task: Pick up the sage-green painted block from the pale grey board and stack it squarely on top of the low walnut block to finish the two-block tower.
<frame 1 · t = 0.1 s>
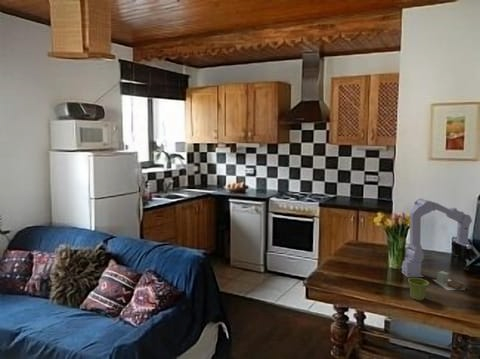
hand: (460, 257, 229), 10 cm above the table, fingers open, 7 cm apart
walnut block: (456, 286, 210), point 1 cm above the table, touching board
board: (448, 285, 213), on the table
sage block: (442, 281, 217), point 1 cm above the table, touching board
plant pot: (417, 298, 198), on the table
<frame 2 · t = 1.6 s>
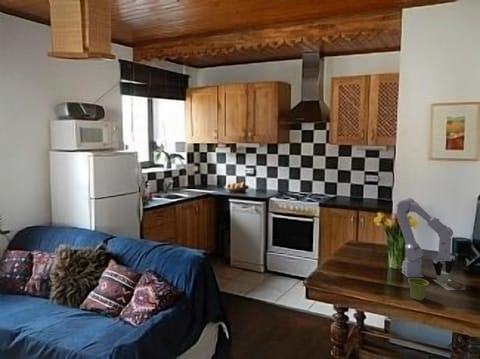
hand: (443, 274, 217), 5 cm above the table, fingers open, 7 cm apart
nothing on the table moved.
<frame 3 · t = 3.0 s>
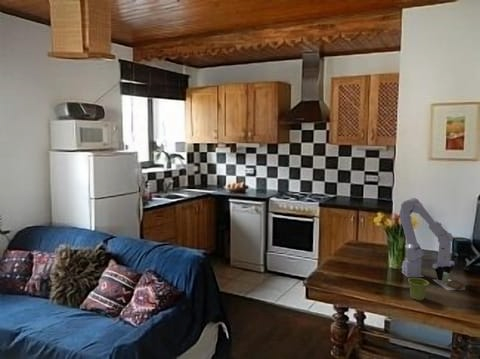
hand: (442, 279, 217), 2 cm above the table, fingers closed on sage block, 4 cm apart
sage block: (442, 281, 217), point 1 cm above the table, touching board, gripper
everything else where it was.
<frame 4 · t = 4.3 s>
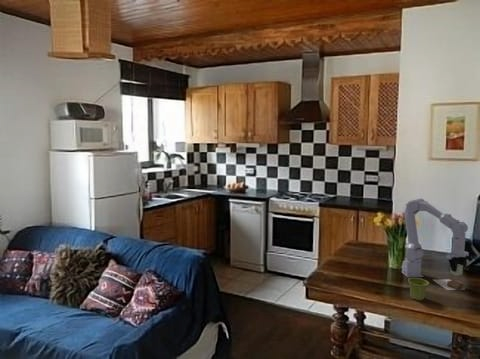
hand: (456, 270, 209), 9 cm above the table, fingers closed on sage block, 4 cm apart
sage block: (456, 273, 210), point 8 cm above the table, touching gripper
everything else where it was.
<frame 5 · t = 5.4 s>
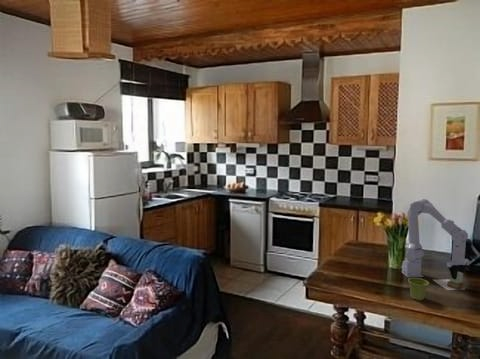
hand: (456, 278, 209), 5 cm above the table, fingers closed on sage block, 4 cm apart
sage block: (456, 281, 210), point 3 cm above the table, touching gripper
everything else where it was.
when the fingers open (5 cm above the table, at t = 5.9 s): sage block stays where it is, resting on walnut block.
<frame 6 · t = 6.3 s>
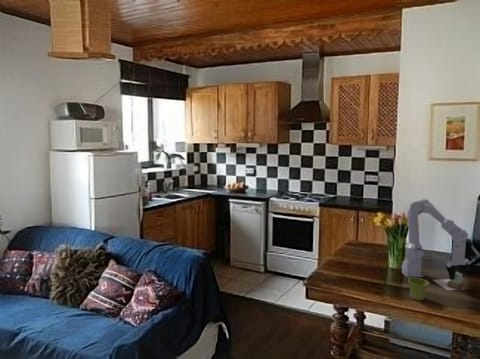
hand: (456, 278, 209), 5 cm above the table, fingers open, 7 cm apart
walnut block: (456, 286, 210), point 1 cm above the table, touching board, sage block
sage block: (456, 282, 210), point 3 cm above the table, touching walnut block
everything else where it was.
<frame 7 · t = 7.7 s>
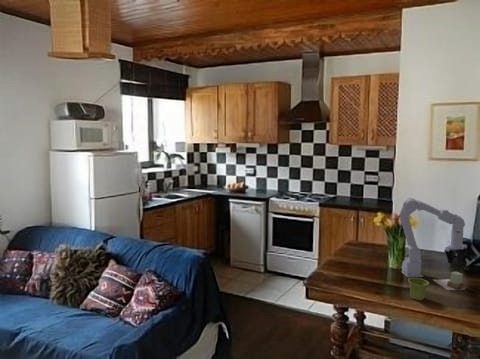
hand: (455, 262, 219), 10 cm above the table, fingers open, 7 cm apart
nothing on the table moved.
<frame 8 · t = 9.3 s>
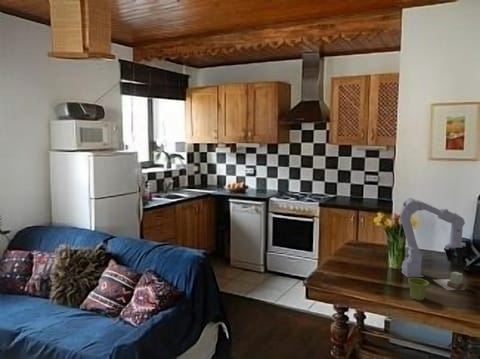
hand: (454, 260, 223), 10 cm above the table, fingers open, 7 cm apart
nothing on the table moved.
at the end: sage block 0.1 cm off-centre on the walnut block, point 2.4 cm above the walnut block's base; sage block tilted 0°; walnut block moved 0.0 cm from its start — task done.
